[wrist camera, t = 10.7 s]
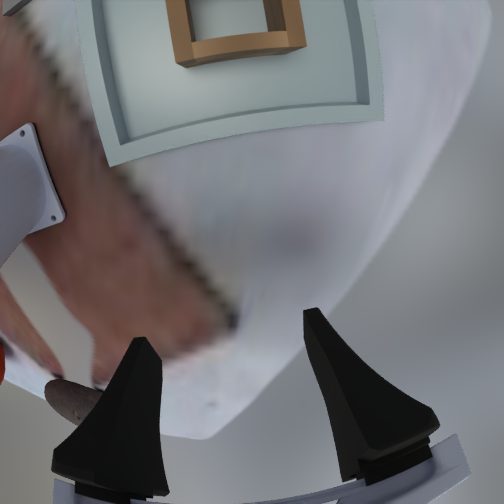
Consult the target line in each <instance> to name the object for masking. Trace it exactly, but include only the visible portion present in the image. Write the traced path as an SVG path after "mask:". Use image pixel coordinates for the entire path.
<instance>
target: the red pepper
mask: <svg viewBox="0 0 504 504" xmlns="http://www.w3.org/2000/svg"><path fill="white" fill-rule="evenodd" d="M4 374H5V354H4V350H3V347H2V345H1V344H0V385H1V383H2V381H3V378H4Z"/></svg>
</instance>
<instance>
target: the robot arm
mask: <svg viewBox="0 0 504 504" xmlns="http://www.w3.org/2000/svg"><path fill="white" fill-rule="evenodd" d="M23 130H24V131H25V135H24V134H23ZM53 215H54V216H55V217H56V219H55V218H54V217H53ZM64 219H65V212H64V210H63V208H62V205H61V203H60V201H59V198H58V196H57V193H56V191H55V188H54V186H53V183H52V180H51V178H50V175H49V172H48V169H47V167H46V164H45V161H44V158H43V155H42V152H41V148H40V145H39V142H38V138H37V135H36V132H35V128H34V125H33V124H32V123H27V124H25V125H24V126H22V127H20V128H19V129H17V130H16V131H14V132H13V133H12V134H10V135H9V136H7V137H6V138H4V139H3V140H2V141H0V268H1V267H2V265H3V264H4V263H5V261H6V260H7V259H8V257H9V256H10V255H11V254H12V252H13V251H14V250H15V249H16V247H17V246H18V245H19V244H20V243H21V241H22V240H23V239H24V238H25V237H26V235H27V234H30V233H32V232H35V231H38V230H40V229H43V228H46V227H49V226H51V225H54V224H57V223H60V222H62V221H63V220H64ZM303 326H304V341H305V345H306V349H307V353H308V357H309V360H310V363H311V365H312V368H313V371H314V373H315V376H316V378H317V381H318V384H319V386H320V389H321V392H322V394H323V397H324V400H325V404H326V407H327V411H328V415H329V419H330V423H331V427H332V432H333V437H334V441H335V446H336V451H337V456H338V462H339V468H340V474H341V478H342V482H346V481H349V480H352V479H355V478H356V479H357V481H354V482H351V483H347V484H344V485H341V486H337V487H334V488H330V489H327V490H323V491H319V492H315V493H310V494H305V495H300V496H295V497H290V498H284V499H278V500H271V501H264V502H255V503H244V504H322V503H326V502H329V501H333V500H337V499H339V500H338V501H337V503H336V504H428V503H430V502H431V501H433V500H435V499H436V498H438V497H439V496H441V495H443V494H444V493H446V492H447V491H449V490H450V489H452V488H453V487H455V486H456V485H458V484H459V483H461V482H462V481H464V480H465V479H466V478H468V477H469V476H470V475H471V471H470V468H469V465H468V463H467V460H466V457H465V455H464V452H463V449H462V447H461V444H460V441H459V439H458V437H457V434H453V435H452V436H450V437H448V438H447V439H445V440H443V441H442V442H440V443H438V444H437V445H435V446H433V447H431V448H430V447H429V445H428V444H429V443H430V439H429V437H428V436H429V435H430V434H432V433H433V432H434V431H436V430H437V429H438V428H439V427H440V423H439V421H438V419H437V416H436V415H435V413H434V412H433V410H432V409H431V408H430V407H428V406H426V405H424V404H422V403H421V402H419V401H417V400H415V399H413V398H412V397H410V396H409V395H407V394H405V393H404V392H402V391H401V390H399V389H398V388H396V387H395V386H393V385H392V384H391V383H389V382H388V381H386V380H385V379H384V378H383V377H381V376H380V375H379V374H378V373H376V372H375V371H374V370H373V369H372V368H371V367H369V366H368V365H367V364H366V363H365V362H364V361H363V360H362V359H361V358H360V357H359V356H358V355H357V354H356V353H355V352H354V351H353V350H352V349H351V348H350V347H349V346H348V345H347V344H346V342H345V341H344V340H343V339H342V338H341V337H340V336H339V335H338V333H337V332H336V331H335V330H334V329H333V327H332V326H331V325H330V323H329V322H328V321H327V319H326V318H325V317H324V315H323V314H322V312H321V311H320V309H319V308H317V307H316V308H311V309H307V310H303ZM162 381H163V377H162V360H161V359H160V357H159V356H158V354H157V353H156V352H155V350H154V349H153V347H152V346H151V344H150V343H149V341H148V340H147V338H146V337H136V338H133V340H132V342H131V344H130V346H129V347H128V349H127V351H126V353H125V355H124V357H123V359H122V361H121V363H120V364H119V366H118V368H117V370H116V372H115V374H114V375H113V377H112V379H111V381H110V382H109V384H108V386H107V388H106V389H105V391H104V393H103V394H102V396H101V397H100V399H99V400H98V402H97V403H96V405H95V406H94V408H93V409H92V410H91V412H90V413H89V414H88V415H87V417H86V418H85V419H84V420H83V422H82V423H81V424H80V425H79V426H78V427H77V428H76V430H75V431H74V432H73V433H72V434H71V435H70V436H69V437H68V438H67V439H65V440H64V441H63V442H62V443H61V444H60V445H59V446H58V447H57V448H55V449H54V451H53V459H52V468H51V470H52V472H54V473H56V474H58V475H60V476H63V477H66V478H68V479H71V480H74V481H75V485H73V484H70V483H67V482H64V481H61V480H58V479H54V491H53V504H167V503H158V502H149V501H146V498H153V495H154V496H166V495H168V494H169V493H170V491H169V488H168V484H167V480H166V476H165V471H164V465H163V459H162V451H161V442H160V406H161V394H162Z"/></svg>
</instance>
